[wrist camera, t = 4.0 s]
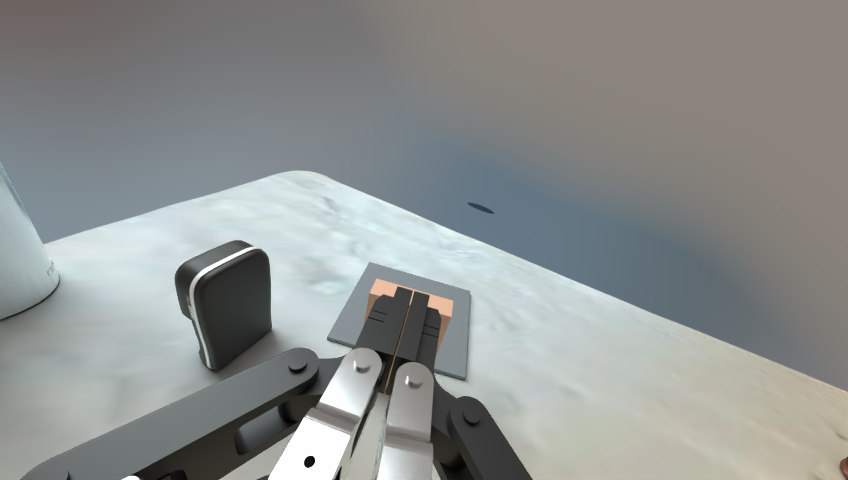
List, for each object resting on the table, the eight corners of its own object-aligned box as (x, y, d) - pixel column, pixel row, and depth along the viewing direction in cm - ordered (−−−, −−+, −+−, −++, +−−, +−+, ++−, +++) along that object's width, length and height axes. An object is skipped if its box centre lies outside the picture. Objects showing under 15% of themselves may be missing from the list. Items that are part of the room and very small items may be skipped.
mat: (464, 380, 34) (465, 377, 34) (327, 339, 35) (327, 336, 34) (469, 293, 47) (470, 291, 47) (369, 264, 47) (369, 262, 47)
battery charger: (249, 312, 35) (241, 228, 29) (275, 328, 34) (271, 244, 28) (186, 355, 30) (159, 262, 24) (214, 376, 29) (194, 284, 23)
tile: (419, 398, 31) (451, 316, 25) (353, 378, 32) (369, 293, 25) (423, 378, 33) (453, 298, 27) (361, 360, 34) (377, 276, 27)
